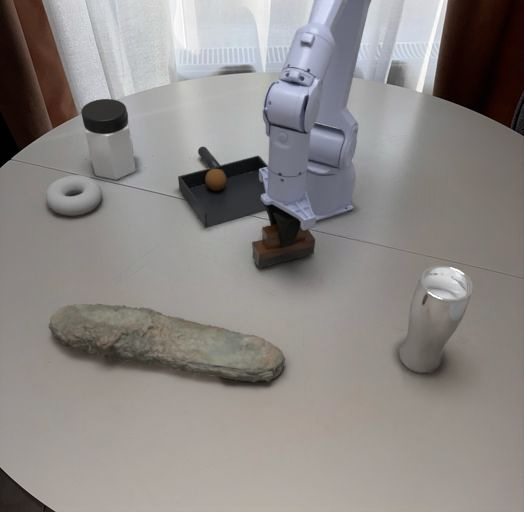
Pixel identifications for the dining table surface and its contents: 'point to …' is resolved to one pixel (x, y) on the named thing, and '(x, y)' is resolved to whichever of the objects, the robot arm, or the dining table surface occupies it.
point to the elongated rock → (166, 341)
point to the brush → (272, 250)
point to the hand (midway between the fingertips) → (283, 239)
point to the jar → (109, 138)
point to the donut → (73, 204)
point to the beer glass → (434, 316)
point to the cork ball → (215, 179)
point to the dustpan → (224, 190)
